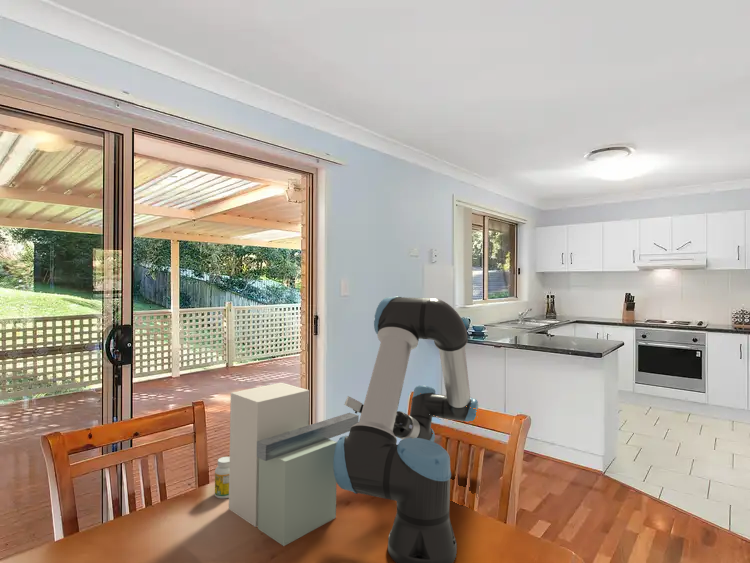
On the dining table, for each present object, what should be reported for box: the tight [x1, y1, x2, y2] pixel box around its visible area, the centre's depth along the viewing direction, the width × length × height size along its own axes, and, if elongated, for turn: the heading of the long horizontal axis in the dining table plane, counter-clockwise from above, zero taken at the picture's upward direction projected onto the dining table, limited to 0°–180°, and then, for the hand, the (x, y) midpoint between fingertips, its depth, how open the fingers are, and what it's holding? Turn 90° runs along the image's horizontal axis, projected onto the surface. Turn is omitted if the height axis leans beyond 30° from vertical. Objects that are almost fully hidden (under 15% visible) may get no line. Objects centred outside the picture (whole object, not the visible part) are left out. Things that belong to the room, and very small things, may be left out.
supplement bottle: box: [214, 456, 230, 500], centre depth 121 cm, size 5×5×10 cm
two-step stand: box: [228, 382, 338, 547], centre depth 112 cm, size 16×23×30 cm
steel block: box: [257, 412, 360, 461], centre depth 111 cm, size 30×4×4 cm, turn 139°
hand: (363, 405), depth 125 cm, fingers open, 13 cm apart
